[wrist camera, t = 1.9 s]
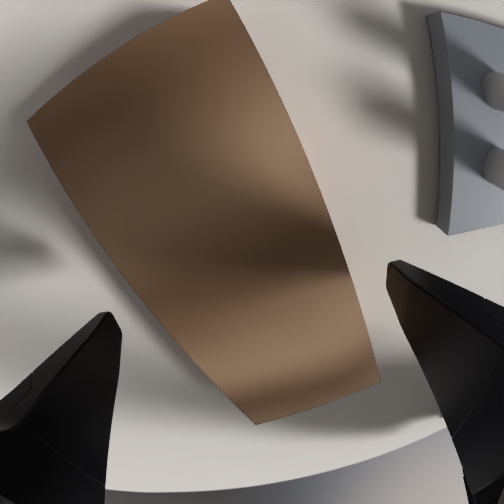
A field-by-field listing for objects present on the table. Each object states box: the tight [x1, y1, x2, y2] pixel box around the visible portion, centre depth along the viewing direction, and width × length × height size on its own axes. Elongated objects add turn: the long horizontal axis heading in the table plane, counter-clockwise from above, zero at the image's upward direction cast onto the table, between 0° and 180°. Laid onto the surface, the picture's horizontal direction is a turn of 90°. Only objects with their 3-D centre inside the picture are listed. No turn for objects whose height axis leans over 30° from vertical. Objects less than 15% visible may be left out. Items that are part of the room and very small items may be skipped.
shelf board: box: [27, 0, 380, 425], centre depth 11 cm, size 16×6×3 cm, turn 25°
